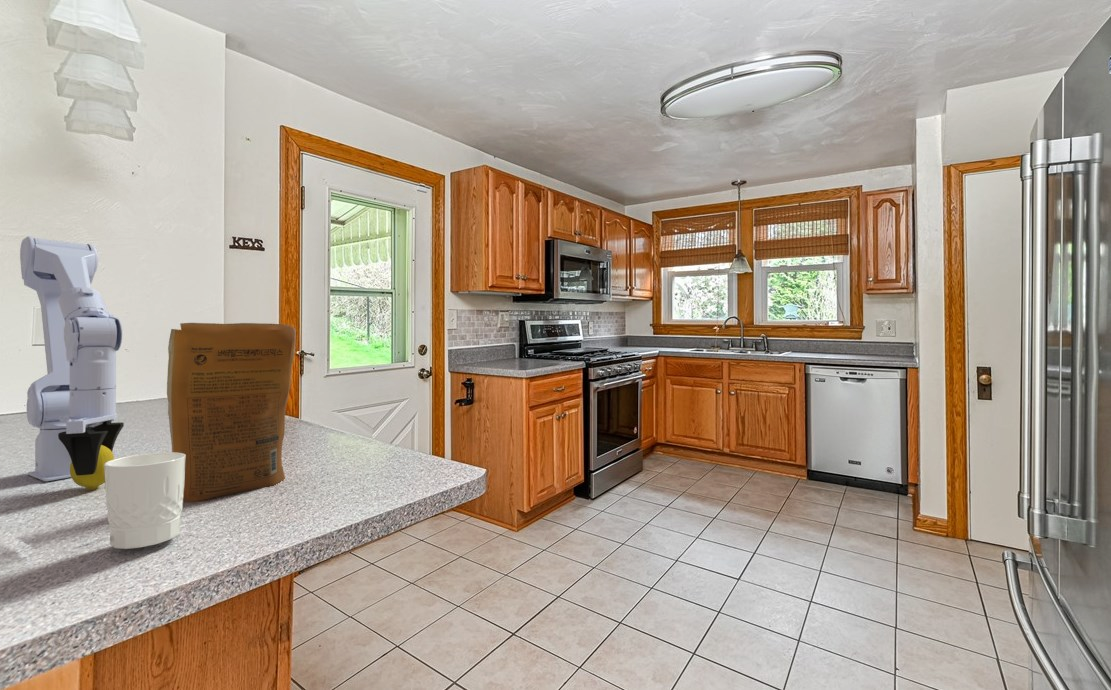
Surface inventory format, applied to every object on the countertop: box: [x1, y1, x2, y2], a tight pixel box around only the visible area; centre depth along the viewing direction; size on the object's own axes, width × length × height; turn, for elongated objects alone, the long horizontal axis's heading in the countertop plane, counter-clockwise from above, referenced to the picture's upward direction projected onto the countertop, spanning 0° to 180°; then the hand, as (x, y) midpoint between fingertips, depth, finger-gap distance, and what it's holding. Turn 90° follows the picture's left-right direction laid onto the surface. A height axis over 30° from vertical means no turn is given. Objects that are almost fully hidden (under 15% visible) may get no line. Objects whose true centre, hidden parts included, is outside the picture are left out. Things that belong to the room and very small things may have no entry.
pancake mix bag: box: [166, 322, 297, 503], centre depth 82 cm, size 7×19×28 cm, turn 140°
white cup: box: [104, 451, 186, 550], centre depth 63 cm, size 8×8×10 cm
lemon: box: [70, 445, 115, 491], centre depth 83 cm, size 6×6×8 cm
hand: (93, 470), depth 83 cm, fingers closed on lemon, 6 cm apart
